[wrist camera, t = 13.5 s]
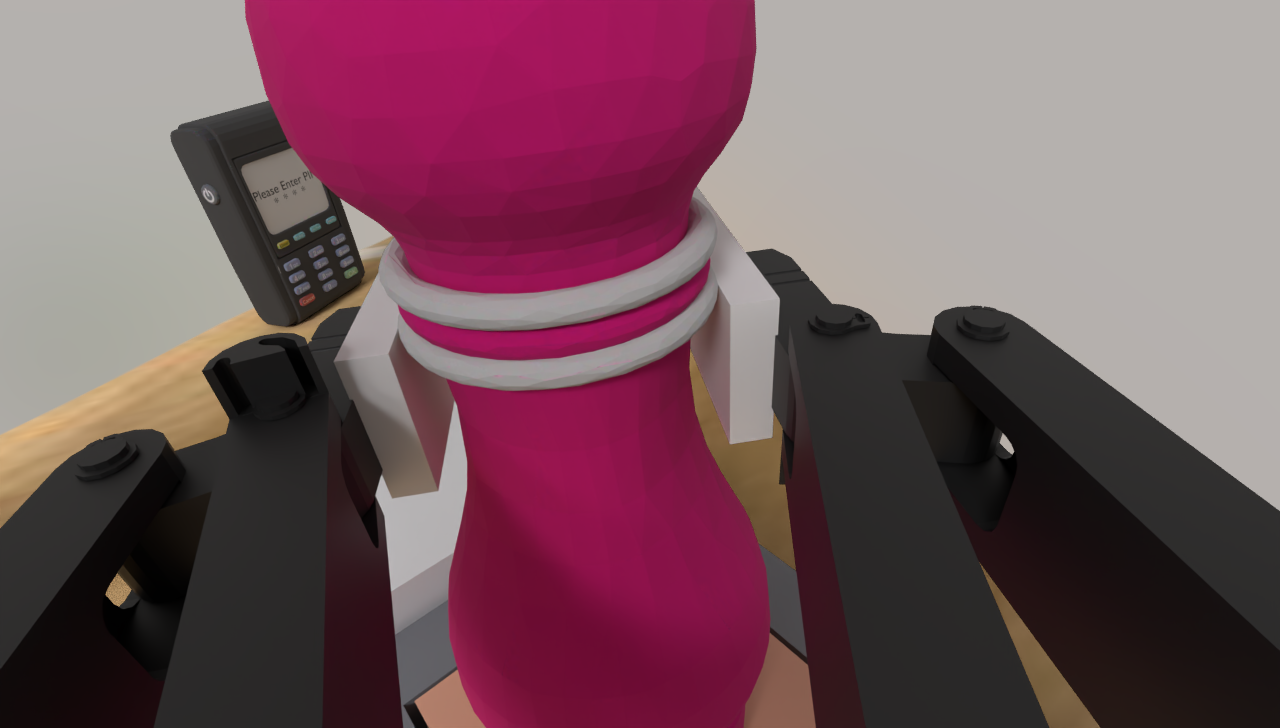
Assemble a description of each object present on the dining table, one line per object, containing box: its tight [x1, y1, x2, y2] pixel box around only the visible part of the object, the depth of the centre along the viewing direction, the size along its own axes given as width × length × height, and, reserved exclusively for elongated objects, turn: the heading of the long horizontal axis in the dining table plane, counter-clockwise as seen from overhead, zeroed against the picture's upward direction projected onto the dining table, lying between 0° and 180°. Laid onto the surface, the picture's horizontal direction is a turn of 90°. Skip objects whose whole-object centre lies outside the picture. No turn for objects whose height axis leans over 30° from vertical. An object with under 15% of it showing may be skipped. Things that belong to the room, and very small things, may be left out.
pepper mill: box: [245, 0, 770, 728], centre depth 11 cm, size 7×7×20 cm
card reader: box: [171, 101, 365, 326], centre depth 47 cm, size 9×4×15 cm, turn 161°
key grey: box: [375, 401, 467, 635], centre depth 25 cm, size 9×9×3 cm
